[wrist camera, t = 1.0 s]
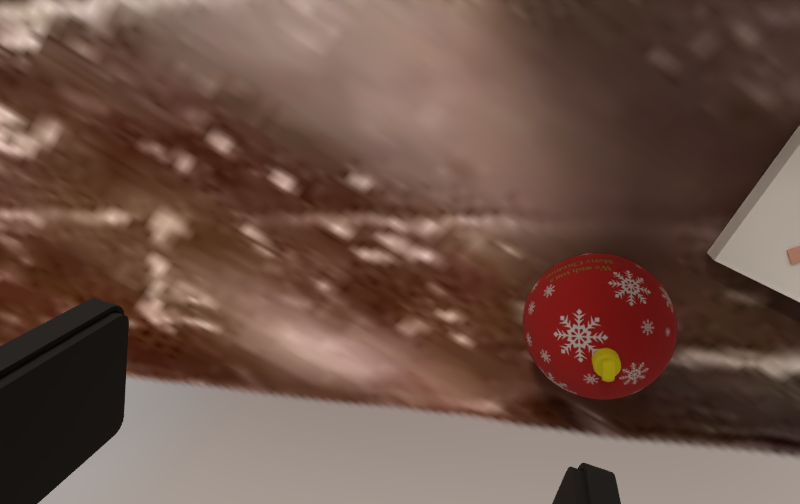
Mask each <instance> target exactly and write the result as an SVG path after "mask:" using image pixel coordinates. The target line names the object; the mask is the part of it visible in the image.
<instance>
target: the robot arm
mask: <svg viewBox="0 0 800 504" xmlns="http://www.w3.org/2000/svg"><path fill="white" fill-rule="evenodd" d="M128 327H129V321H128V318H127V316H125V315H124V311H123V309H122V308H121V307H120V306H118V305H115V304H112V303H109V302H106V301H103V300H100V299H96V298H92V299H89V300H87V301H85V302H83V303H82V304H80V305H78V306H76V307H74V308H72V309H70V310H68V311H66V312H64V313H63V314H61V315H59V316H57V317H55V318H53V319H51V320H49V321H47V322H46V323H44V324H42V325H40V326H38V327H36V328H34V329H32V330H30V331H29V332H27V333H25V334H23V335H21V336H19V337H17V338H15V339H13V340H11V341H10V342H8V343H6V344H4V345H2V346H0V504H37V503H39V502H40V501H41V500H42V499H43V498H44V497H45V496H47V495H48V494H49V493H50V492H51V491H52V490H53V489H54V488H56V487H57V486H58V485H59V484H60V483H61V482H62V481H63V480H65V479H66V478H67V477H68V476H69V475H70V474H71V473H72V472H74V471H75V470H76V469H77V468H78V467H79V466H80V465H81V464H83V463H84V462H85V461H86V460H87V459H88V458H89V457H91V456H92V455H93V454H94V453H95V452H96V451H97V450H98V449H100V447H102V446H103V445H104V444H105V443H106V442H107V441H109V439H111V438H112V437H113V436H114V435H115V434H116V433H117V432H118V430H119V429H120V427H121V425H122V422H123V418H124V403H125V383H126V365H127V346H128ZM552 504H621V502H620V498H619V493H618V488H617V483H616V478H615V475H614V474H613V473H612V472H609V471H607V470H604V469H601V468H598V467H595V466H592V465H589V464H586V463H582V464H581V465H580V466H579V467H578V469H576V468H573V467H569V468H568V470H567V471H566V473H565V476H564V478H563V480H562V483H561V485H560V487H559V490H558V492H557V494H556V496H555V499H554V501H553V503H552Z"/></svg>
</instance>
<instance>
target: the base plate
mask: <svg viewBox="0 0 800 504" xmlns="http://www.w3.org/2000/svg"><path fill="white" fill-rule="evenodd" d="M707 254H708V255H709V256H710V257H711V258H712V259H713V260H714V261H716V262H718V263H720V264H722V265H724V266H726V267H728V268H730V269H733V270H735V271H737V272H739V273H741V274H743V275H745V276H747V277H749V278H751V279H753V280H755V281H757V282H759V283H761V284H763V285H765V286H767V287H769V288H771V289H773V290H775V291H777V292H780V293H782V294H784V295H786V296H788V297H790V298H792V299H794V300H796V301H798V302H800V125H799V126H798V128H797V129H796V130H795V132H794V133H793V135H792V136H791V137H790V139H789V140H788V141H787V143H786V144H785V146H784V147H783V148H782V150H781V151H780V152H779V154H778V155H777V157H776V158H775V159H774V161H773V162H772V163H771V165H770V166H769V168H768V169H767V170H766V172H765V173H764V174H763V176H762V177H761V179H760V180H759V181H758V183H757V184H756V185H755V187H754V188H753V190H752V191H751V192H750V194H749V195H748V196H747V198H746V199H745V201H744V202H743V203H742V205H741V206H740V207H739V209H738V210H737V212H736V213H735V214H734V216H733V217H732V218H731V220H730V221H729V223H728V224H727V225H726V227H725V228H724V229H723V231H722V232H721V234H720V235H719V236H718V238H717V239H716V240H715V242H714V243H713V245H712V246H711V247H710V249H709V250H708V251H707Z"/></svg>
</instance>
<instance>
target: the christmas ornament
mask: <svg viewBox="0 0 800 504" xmlns="http://www.w3.org/2000/svg"><path fill="white" fill-rule="evenodd" d="M523 332H524V338H525V342H526V345H527V348H528V351H529V353H530V355H531V357H532V359H533V360H534V362H535V364H536V365H537V367H538V368H539V369H540V370H541V371H542V373H543V374H544V375H545V376H546V377H547V378H548V379H550V380H551V381H552V382H553V383H555V384H556V385H558V386H559V387H561V388H562V389H564V390H566V391H568V392H570V393H573V394H575V395H578V396H582V397H586V398H591V399H603V400H606V399H616V398H621V397H625V396H628V395H631V394H634V393H636V392H638V391H640V390H642V389H644V388H645V387H647V386H648V385H650V384H651V383H652V382H653V381H655V380H656V379H657V378H658V377H659V375H660V374H661V373H662V372H663V371H664V369H665V368H666V366H667V365H668V363H669V361H670V359H671V357H672V355H673V352H674V349H675V345H676V340H677V319H676V314H675V310H674V307H673V304H672V302H671V299H670V297H669V295H668V293H667V292H666V290H665V289H664V287H663V286H662V285H661V283H660V282H659V281H658V280H657V279H656V278H655V277H654V276H653V275H652V274H651V273H650V272H649V271H648V270H646V269H645V268H643V267H642V266H640V265H639V264H637V263H635V262H633V261H631V260H629V259H626V258H623V257H620V256H617V255H613V254H606V253H587V254H581V255H576V256H573V257H570V258H567V259H565V260H563V261H561V262H559V263H557V264H556V265H554V266H552V267H551V268H550V269H549V270H547V271H546V272H545V273H544V274H543V275H542V276H541V277H540V278H539V279H538V281H537V282H536V283H535V285H534V286H533V288H532V290H531V292H530V293H529V296H528V298H527V301H526V304H525V308H524V314H523Z"/></svg>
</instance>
